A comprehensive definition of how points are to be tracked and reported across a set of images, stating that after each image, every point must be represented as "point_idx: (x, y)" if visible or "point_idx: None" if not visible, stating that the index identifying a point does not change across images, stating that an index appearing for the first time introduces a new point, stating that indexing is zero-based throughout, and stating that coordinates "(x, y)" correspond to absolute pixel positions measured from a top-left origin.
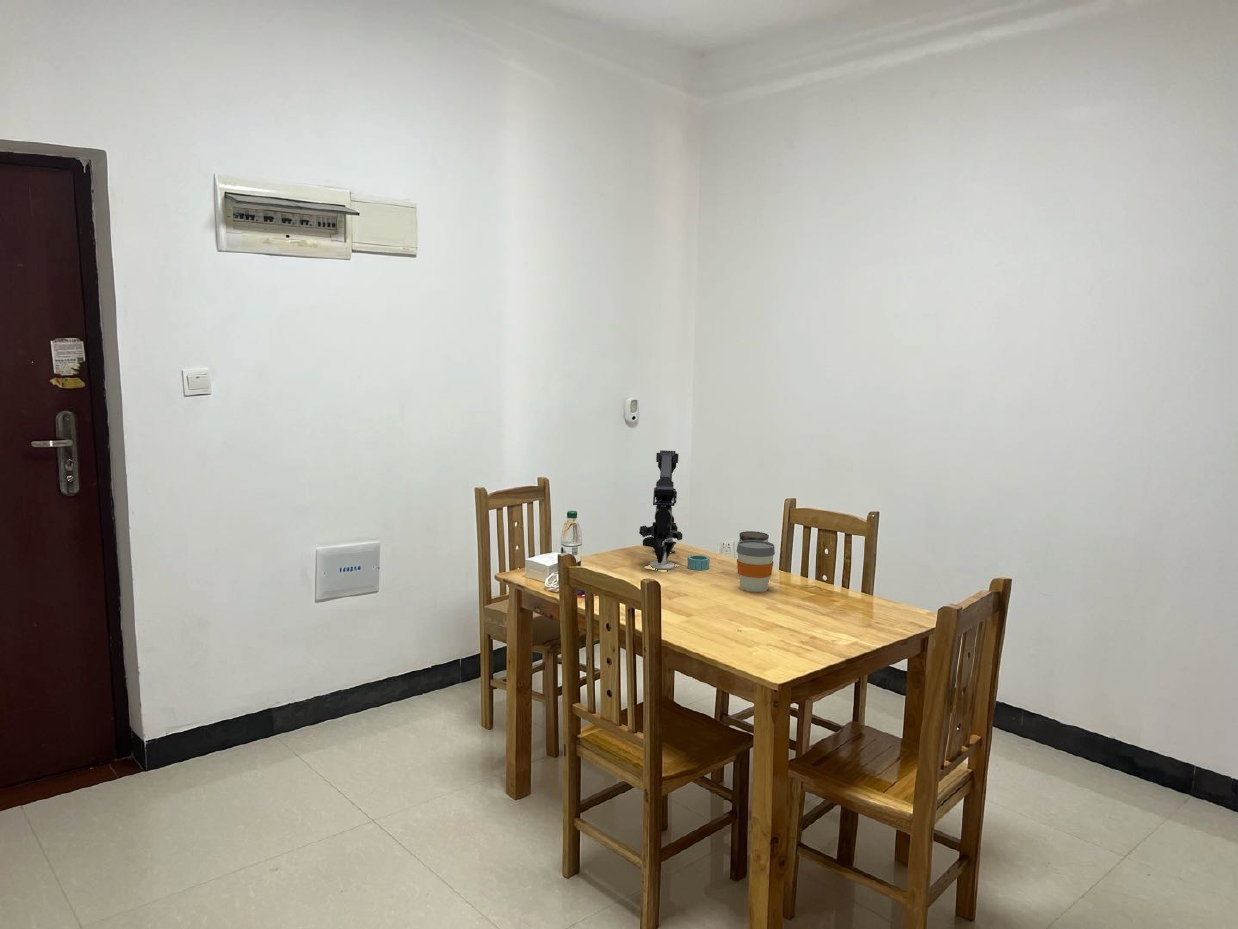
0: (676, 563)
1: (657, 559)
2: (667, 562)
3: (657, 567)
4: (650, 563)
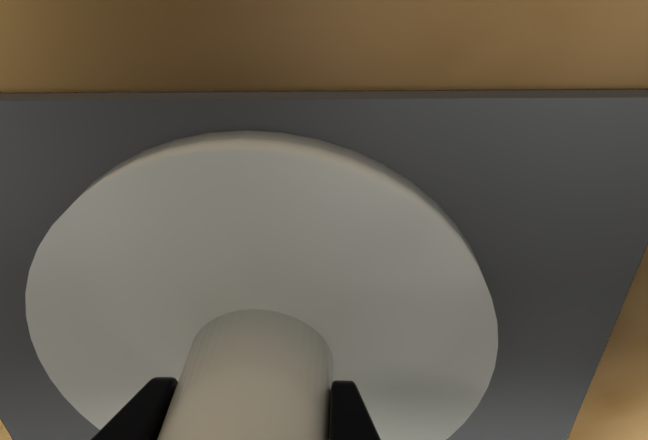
0: (581, 402)
1: (101, 430)
2: (430, 377)
3: (59, 375)
4: (119, 197)
